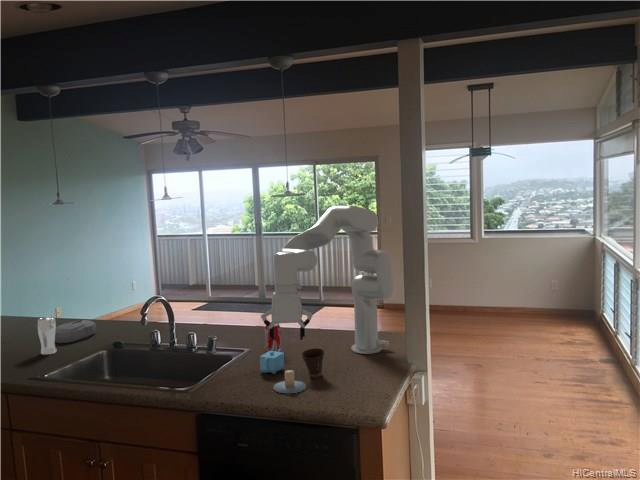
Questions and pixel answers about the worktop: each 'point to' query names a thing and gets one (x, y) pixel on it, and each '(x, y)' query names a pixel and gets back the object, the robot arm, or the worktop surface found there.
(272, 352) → the light blue box
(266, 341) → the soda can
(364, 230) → the robot arm
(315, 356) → the cup
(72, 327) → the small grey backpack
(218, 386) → the worktop surface
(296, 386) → the lid
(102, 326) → the worktop surface
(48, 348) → the beer glass
